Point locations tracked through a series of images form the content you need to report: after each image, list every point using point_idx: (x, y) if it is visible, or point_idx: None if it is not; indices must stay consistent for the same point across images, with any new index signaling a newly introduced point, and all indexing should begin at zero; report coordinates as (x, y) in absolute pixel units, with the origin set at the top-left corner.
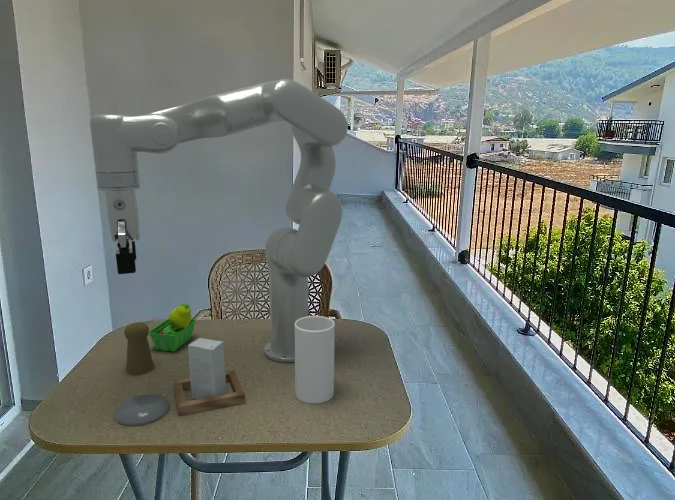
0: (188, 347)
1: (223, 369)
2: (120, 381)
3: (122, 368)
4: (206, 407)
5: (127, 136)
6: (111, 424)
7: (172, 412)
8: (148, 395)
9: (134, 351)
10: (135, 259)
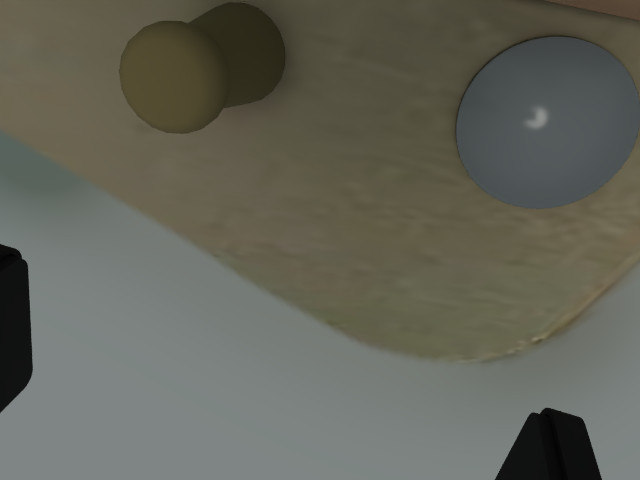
0: None
1: None
2: (300, 135)
3: None
4: None
5: None
6: (551, 217)
7: (626, 39)
8: (478, 88)
9: (242, 91)
10: (17, 255)
